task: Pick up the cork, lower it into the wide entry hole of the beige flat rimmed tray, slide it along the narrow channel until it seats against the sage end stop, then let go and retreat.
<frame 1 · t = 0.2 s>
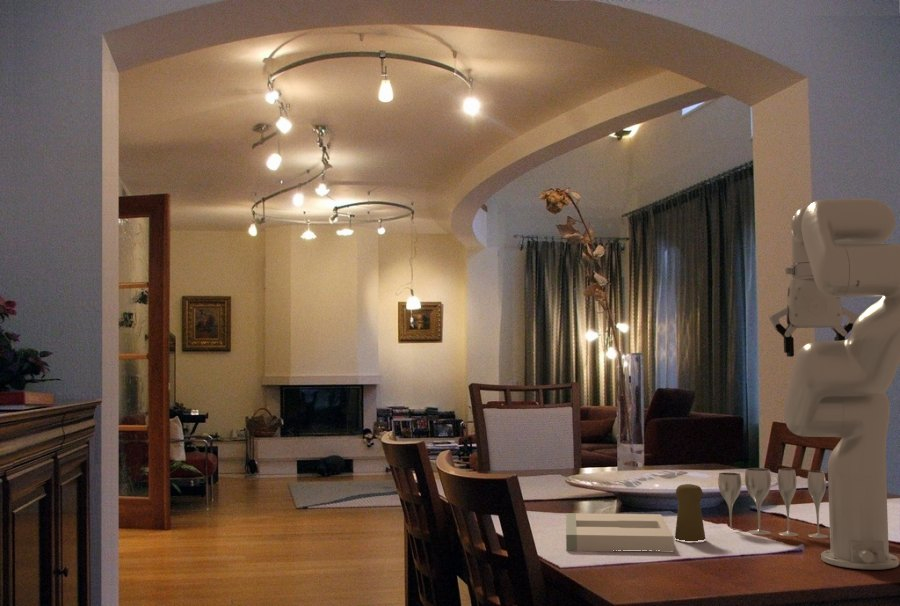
hand: (814, 356, 191), 36 cm above the table, tool pointing down, fingers open, 9 cm apart
goblet set: (789, 535, 192), on the table
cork: (690, 541, 187), on the table
beige flat rimmed tray: (616, 539, 188), on the table
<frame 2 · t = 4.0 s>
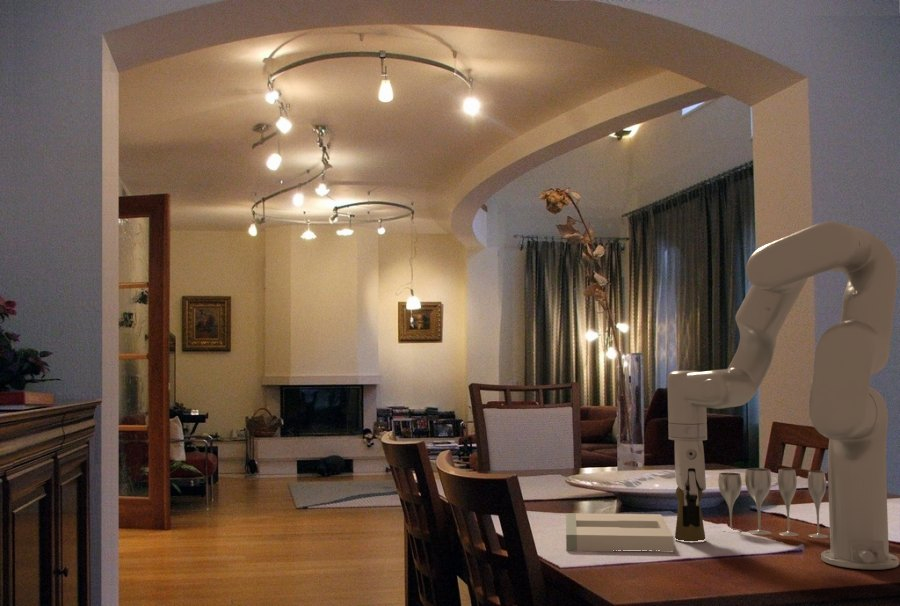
hand: (689, 523, 187), 3 cm above the table, tool pointing down, fingers closed on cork, 3 cm apart
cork: (690, 541, 187), on the table, touching gripper
everything else where it was.
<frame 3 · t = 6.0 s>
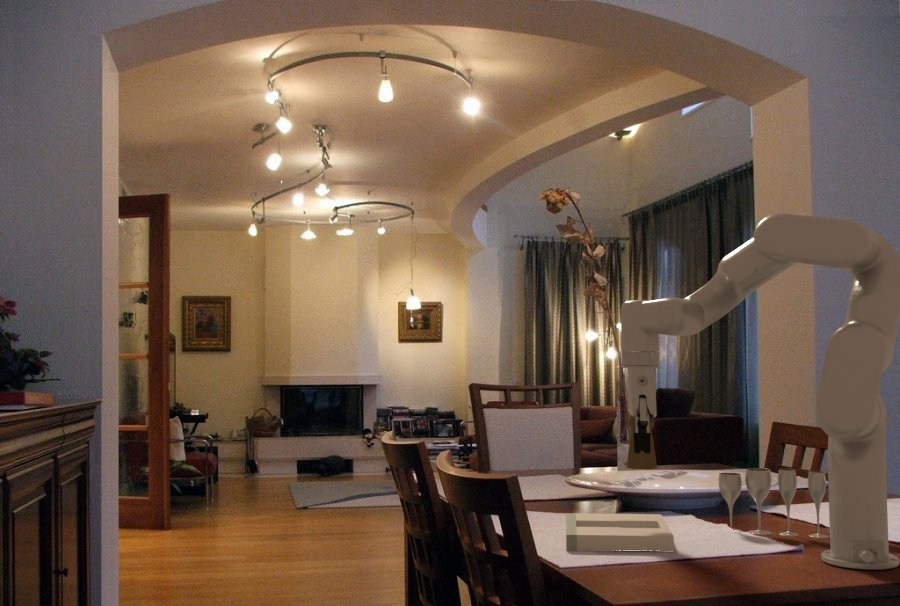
hand: (641, 450, 189), 18 cm above the table, tool pointing down, fingers closed on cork, 3 cm apart
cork: (641, 468, 189), point 14 cm above the table, touching gripper
everything else where it was.
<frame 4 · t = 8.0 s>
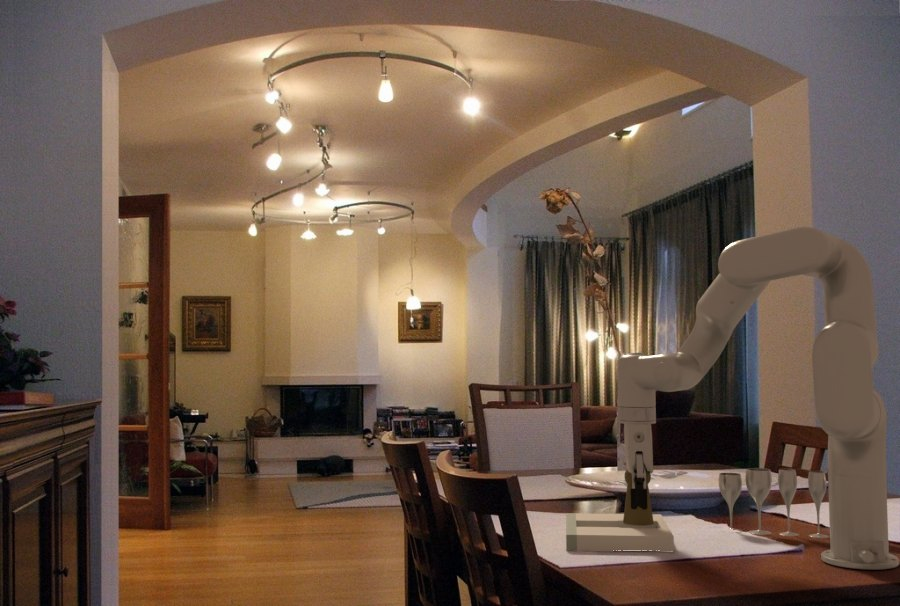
hand: (638, 506, 188), 7 cm above the table, tool pointing down, fingers closed on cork, 3 cm apart
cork: (638, 523, 188), point 3 cm above the table, touching gripper
everything else where it was.
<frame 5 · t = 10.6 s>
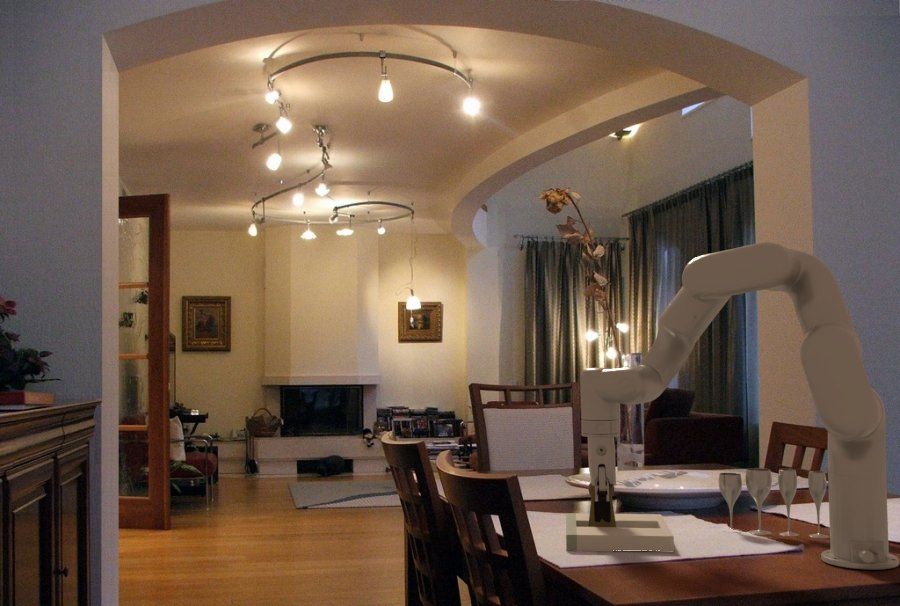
hand: (602, 518, 189), 4 cm above the table, tool pointing down, fingers closed on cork, 3 cm apart
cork: (602, 536, 189), point 1 cm above the table, touching gripper
everything else where it was.
when the fingers open (3 cm above the table, at t = 12.1 s): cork stays where it is, resting in beige flat rimmed tray.
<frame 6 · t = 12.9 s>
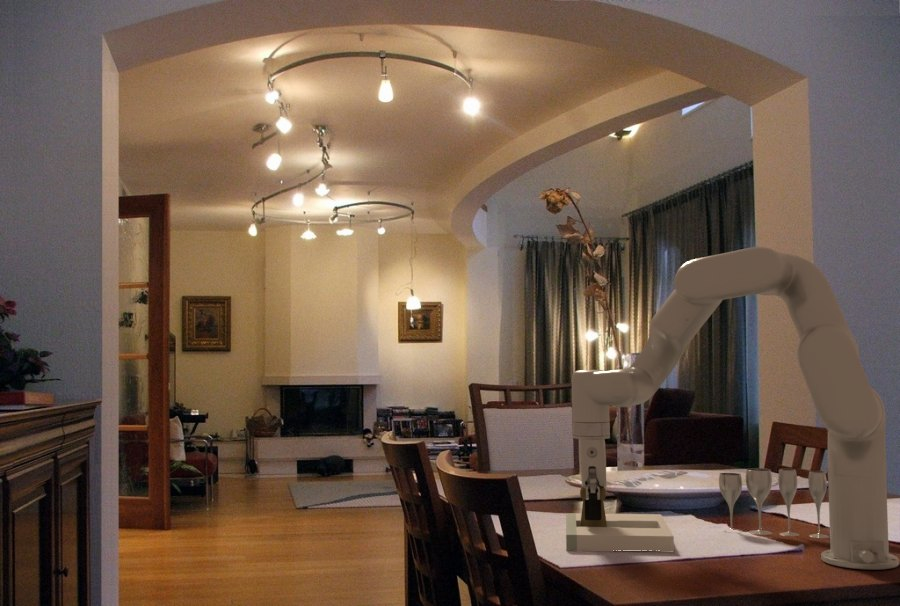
hand: (592, 515, 189), 5 cm above the table, tool pointing down, fingers open, 9 cm apart
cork: (593, 540, 189), resting in beige flat rimmed tray
everything else where it was.
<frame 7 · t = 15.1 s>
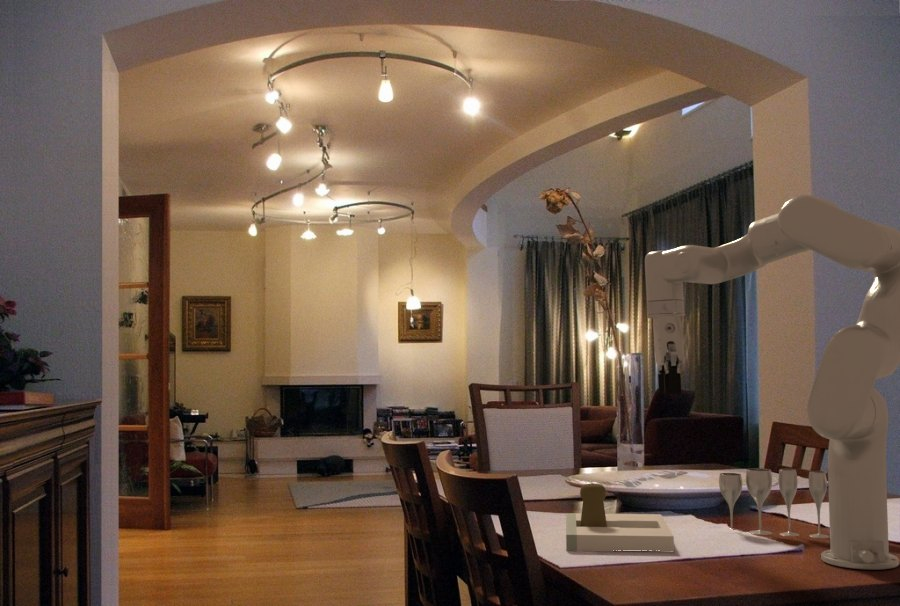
hand: (669, 393, 192), 29 cm above the table, tool pointing down, fingers open, 9 cm apart
nothing on the table moved.
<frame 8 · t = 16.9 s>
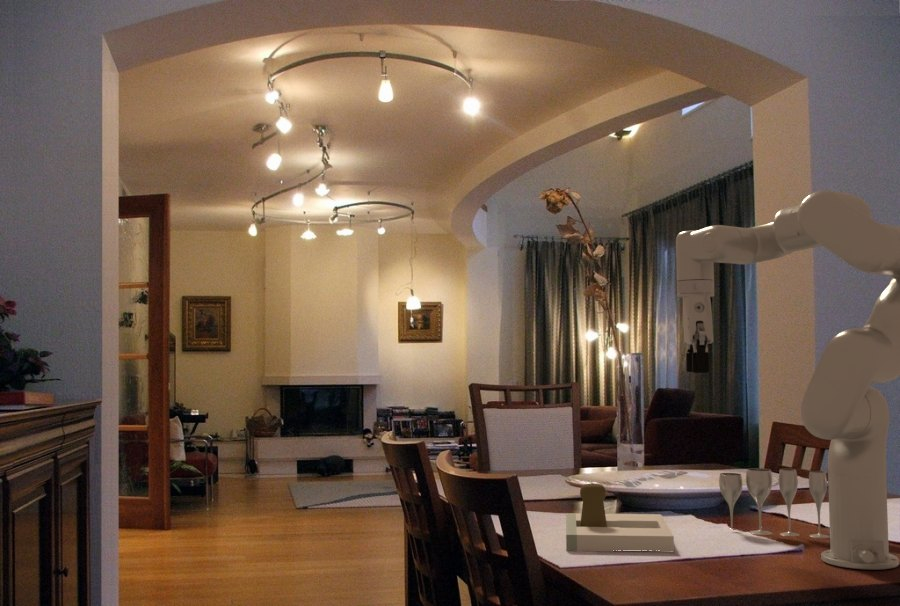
hand: (697, 372, 194), 33 cm above the table, tool pointing down, fingers open, 9 cm apart
nothing on the table moved.
at the end: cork 0.3 cm from the target spot on the beige flat rimmed tray, point 0.0 cm above the beige flat rimmed tray's base; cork tilted 0°; the gripper is holding nothing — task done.
